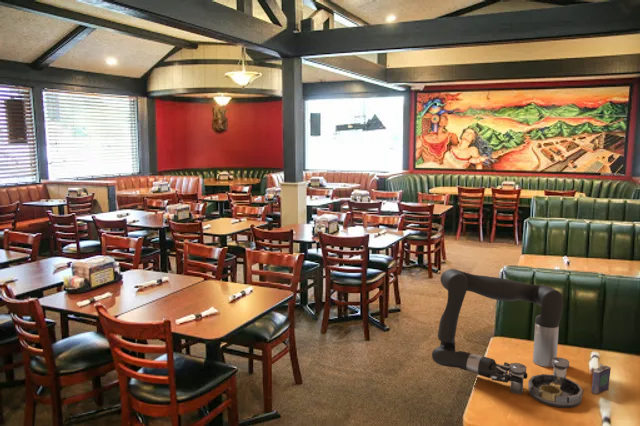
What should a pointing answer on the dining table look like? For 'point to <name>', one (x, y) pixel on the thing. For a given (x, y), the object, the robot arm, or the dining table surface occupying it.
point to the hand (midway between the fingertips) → (524, 378)
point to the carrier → (556, 387)
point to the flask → (601, 379)
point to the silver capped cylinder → (518, 371)
